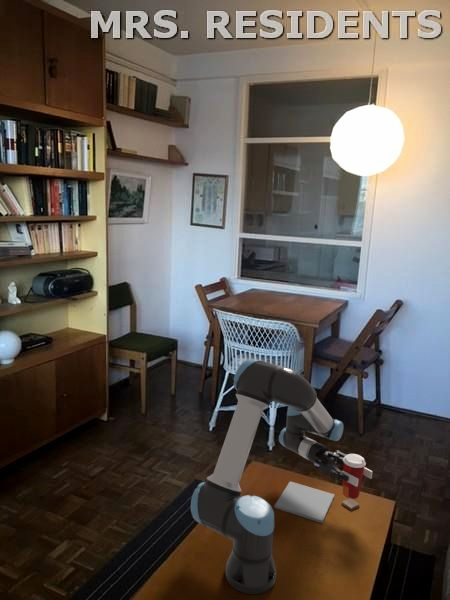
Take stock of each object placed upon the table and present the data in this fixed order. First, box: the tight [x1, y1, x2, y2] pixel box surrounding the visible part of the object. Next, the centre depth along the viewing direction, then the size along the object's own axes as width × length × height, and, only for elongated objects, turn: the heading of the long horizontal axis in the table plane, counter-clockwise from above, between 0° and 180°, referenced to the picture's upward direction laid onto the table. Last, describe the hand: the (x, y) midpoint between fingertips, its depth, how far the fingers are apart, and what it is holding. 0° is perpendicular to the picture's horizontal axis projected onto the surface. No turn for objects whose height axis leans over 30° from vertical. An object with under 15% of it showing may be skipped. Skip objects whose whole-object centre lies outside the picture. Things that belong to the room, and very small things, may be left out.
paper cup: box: [342, 453, 367, 500], centre depth 173 cm, size 8×8×14 cm
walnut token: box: [341, 498, 360, 511], centre depth 184 cm, size 4×4×2 cm
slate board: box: [273, 480, 335, 524], centre depth 184 cm, size 18×18×1 cm
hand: (364, 478), depth 169 cm, fingers closed on paper cup, 8 cm apart
